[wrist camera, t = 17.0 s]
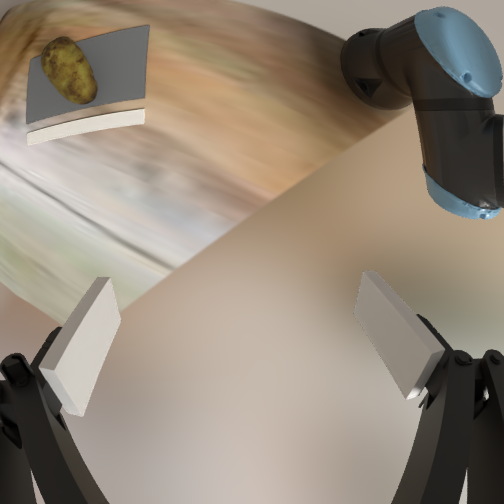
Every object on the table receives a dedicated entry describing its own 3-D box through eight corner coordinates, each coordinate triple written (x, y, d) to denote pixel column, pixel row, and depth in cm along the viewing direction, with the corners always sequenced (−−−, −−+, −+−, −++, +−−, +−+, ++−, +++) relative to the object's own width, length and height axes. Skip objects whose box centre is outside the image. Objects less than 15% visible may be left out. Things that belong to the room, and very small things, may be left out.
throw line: (144, 109, 36) (144, 108, 36) (144, 123, 37) (144, 123, 37) (27, 133, 34) (27, 133, 34) (28, 145, 35) (27, 146, 35)
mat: (149, 26, 31) (148, 25, 30) (145, 98, 36) (144, 97, 35) (32, 59, 28) (30, 59, 28) (27, 124, 34) (26, 124, 33)
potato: (64, 118, 34) (38, 118, 27) (56, 55, 29) (32, 47, 22) (105, 99, 34) (83, 94, 27) (97, 34, 29) (76, 20, 22)
